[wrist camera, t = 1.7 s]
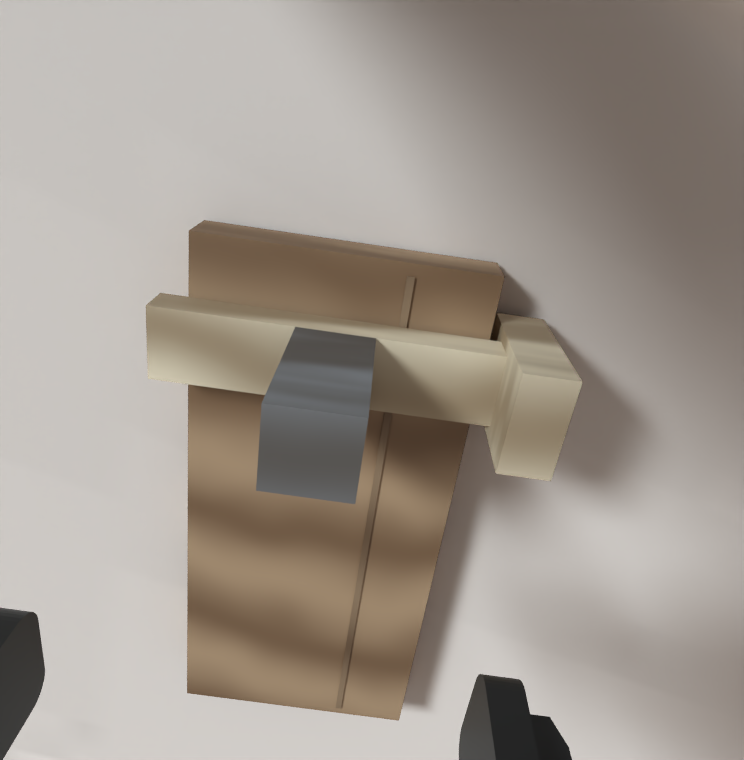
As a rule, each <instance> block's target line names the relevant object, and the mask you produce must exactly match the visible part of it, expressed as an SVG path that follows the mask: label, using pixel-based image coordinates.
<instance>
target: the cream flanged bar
mask: <svg viewBox="0 0 744 760" xmlns="http://www.w3.org/2000/svg"><path fill="white" fill-rule="evenodd" d="M146 328H147V363H148V379H154V380H161V381H168V382H175V383H182V384H190V385H197V386H204V387H211V388H218V389H225V390H232V391H240V392H247V393H254V394H261V395H265V396H264V399H263V401H262V404H261V420H260V436H259V451H258V467H257V483H256V491H262V492H269V493H276V494H284V495H291V496H298V497H305V498H313V499H320V500H327V501H335V502H342V503H349V504H355V503H356V496H357V490H358V483H359V477H360V470H361V464H362V457H363V451H364V444H365V438H366V431H367V425H368V418H369V410H375V411H382V412H389V413H396V414H404V415H411V416H418V417H425V418H432V419H439V420H446V421H454V422H461V423H468V424H475V425H482V426H484V428H485V432H486V436H487V440H488V444H489V448H490V452H491V456H492V460H493V464H494V468H495V472H496V474H502V475H509V476H517V477H524V478H531V479H538V480H545V481H551V479H552V476H553V473H554V470H555V467H556V464H557V460H558V457H559V454H560V451H561V448H562V445H563V442H564V439H565V436H566V432H567V429H568V426H569V423H570V420H571V417H572V414H573V411H574V408H575V405H576V401H577V398H578V395H579V392H580V389H581V386H582V383H583V382H582V380H581V378H580V377H579V375H578V374H577V372H576V370H575V369H574V367H573V366H572V364H571V362H570V361H569V359H568V358H567V356H566V354H565V353H564V351H563V350H562V348H561V346H560V345H559V343H558V341H557V340H556V338H555V337H554V335H553V333H552V332H551V330H550V329H549V327H548V325H547V324H546V322H545V321H544V320H543V319H536V318H529V317H522V316H515V315H508V314H502V313H497V314H496V318H495V322H494V327H493V331H492V335H491V339H490V340H485V339H478V338H471V337H464V336H458V335H451V334H444V333H437V332H430V331H423V330H416V329H409V328H402V327H395V326H388V325H381V324H374V323H367V322H360V321H353V320H346V319H339V318H332V317H325V316H318V315H311V314H304V313H297V312H290V311H283V310H276V309H269V308H262V307H255V306H248V305H241V304H234V303H227V302H220V301H213V300H206V299H199V298H192V297H185V296H178V295H171V294H164V293H160V294H159V295H158V296H156V297H155V298H154V299H153V300H152V301H150V302H149V303H148V304H147V305H146Z"/></svg>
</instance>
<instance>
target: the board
mask: <svg viewBox="0 0 744 760" xmlns="http://www.w3.org/2000/svg"><path fill="white" fill-rule="evenodd" d="M504 278H505V276H504V274H503V273H502V271H501V269H500V267H499V266H498V264H497V263H494V262H487V261H480V260H473V259H466V258H459V257H453V256H446V255H439V254H432V253H425V252H418V251H411V250H405V249H398V248H391V247H384V246H377V245H370V244H364V243H357V242H350V241H343V240H336V239H329V238H322V237H316V236H309V235H302V234H295V233H288V232H281V231H274V230H268V229H261V228H254V227H247V226H240V225H233V224H226V223H220V222H213V221H206V220H204V221H203V222H201V223H200V224H198V225H197V226H195V227H194V228H192V229H191V230H189V297H192V298H199V299H206V300H213V301H220V302H227V303H234V304H241V305H248V306H255V307H262V308H269V309H276V310H283V311H290V312H297V313H304V314H311V315H318V316H325V317H332V318H339V319H346V320H353V321H360V322H367V323H374V324H381V325H388V326H395V327H402V328H409V329H416V330H423V331H430V332H437V333H444V334H451V335H458V336H464V337H471V338H478V339H485V340H490V336H491V332H492V328H493V324H494V319H495V315H496V311H497V307H498V303H499V299H500V294H501V290H502V286H503V282H504ZM264 396H265V395H261V394H254V393H247V392H240V391H232V390H225V389H218V388H211V387H204V386H197V385H190V384H188V630H187V693H191V694H198V695H206V696H214V697H222V698H229V699H237V700H245V701H252V702H260V703H268V704H276V705H283V706H291V707H299V708H307V709H314V710H322V711H330V712H337V713H345V714H353V715H361V716H368V717H376V718H384V719H391V720H399V718H400V713H401V709H402V705H403V701H404V697H405V692H406V688H407V684H408V680H409V676H410V671H411V667H412V663H413V659H414V655H415V651H416V646H417V642H418V638H419V634H420V630H421V625H422V621H423V617H424V613H425V609H426V604H427V600H428V596H429V592H430V588H431V583H432V579H433V575H434V571H435V567H436V563H437V558H438V554H439V550H440V546H441V542H442V537H443V533H444V529H445V525H446V521H447V516H448V512H449V508H450V504H451V500H452V495H453V491H454V487H455V483H456V479H457V475H458V470H459V466H460V462H461V458H462V454H463V449H464V445H465V441H466V437H467V433H468V428H469V424H468V423H461V422H454V421H446V420H439V419H432V418H425V417H418V416H411V415H404V414H396V413H389V412H382V411H375V410H369V418H368V425H367V431H366V438H365V444H364V451H363V457H362V464H361V470H360V477H359V483H358V490H357V496H356V503H355V504H349V503H342V502H335V501H327V500H320V499H313V498H305V497H298V496H291V495H284V494H276V493H269V492H262V491H256V483H257V467H258V451H259V436H260V420H261V404H262V401H263V399H264Z"/></svg>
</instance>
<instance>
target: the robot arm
mask: <svg viewBox="0 0 744 760" xmlns="http://www.w3.org/2000/svg"><path fill="white" fill-rule="evenodd" d="M44 676H45V666H44V659H43V652H42V644H41V637H40V630H39V622H38V617H37V615H36V614H35V613H34V612H28V611H20V610H13V609H5V608H0V760H3V758H4V757H5V755H6V753H7V752H8V750H9V748H10V747H11V745H12V743H13V742H14V740H15V738H16V737H17V735H18V733H19V732H20V730H21V728H22V727H23V725H24V723H25V722H26V720H27V718H28V717H29V715H30V713H31V712H32V710H33V708H34V706H35V704H36V702H37V700H38V698H39V695H40V692H41V689H42V686H43V682H44ZM459 760H572V758H571V755H570V751H569V747H568V745H567V744H566V742H565V741H564V739H563V737H562V736H561V734H560V733H559V731H558V730H557V728H556V726H555V725H554V723H553V722H552V720H551V718H550V717H546V716H538V715H531V714H530V712H529V707H528V702H527V698H526V693H525V689H524V686H523V683H522V681H521V680H519V679H512V678H505V677H498V676H490V675H483V674H479V675H478V677H477V679H476V682H475V685H474V689H473V692H472V695H471V698H470V702H469V705H468V708H467V711H466V714H465V718H464V721H463V724H462V728H461V734H460V742H459Z"/></svg>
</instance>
